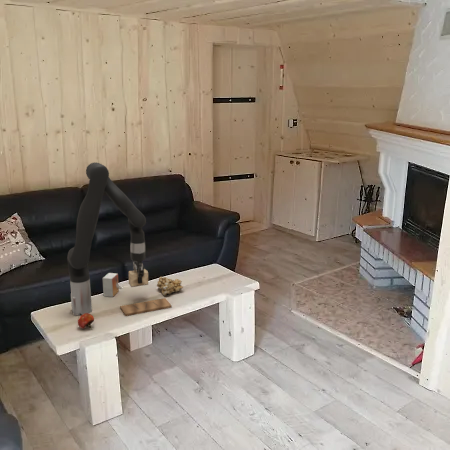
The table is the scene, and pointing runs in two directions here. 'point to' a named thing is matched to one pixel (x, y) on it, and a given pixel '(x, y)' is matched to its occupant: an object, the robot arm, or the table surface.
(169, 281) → the mineral formation
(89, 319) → the pomegranate
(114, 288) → the small box
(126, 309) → the board
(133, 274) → the sanding block
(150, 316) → the table surface
